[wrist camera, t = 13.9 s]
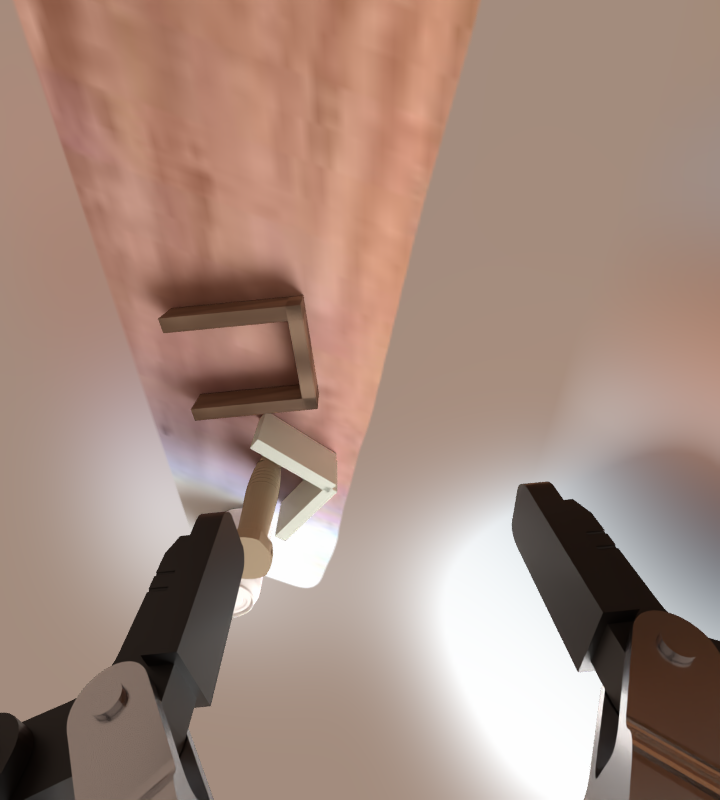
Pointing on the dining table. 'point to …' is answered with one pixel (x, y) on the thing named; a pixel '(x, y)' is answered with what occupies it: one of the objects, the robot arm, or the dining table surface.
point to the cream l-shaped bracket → (297, 470)
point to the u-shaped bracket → (249, 315)
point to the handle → (259, 518)
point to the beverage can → (246, 580)
